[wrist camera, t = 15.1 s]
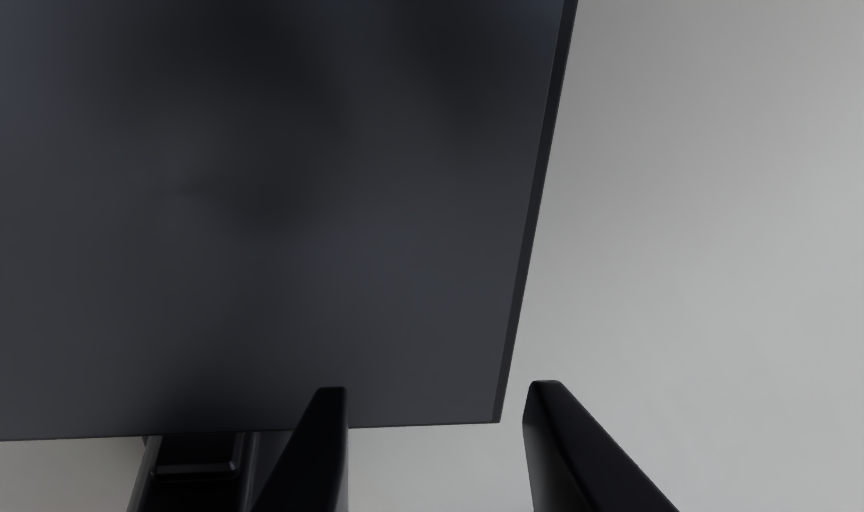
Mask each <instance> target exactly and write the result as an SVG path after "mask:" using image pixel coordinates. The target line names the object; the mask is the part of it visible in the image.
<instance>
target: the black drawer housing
mask: <svg viewBox="0 0 864 512" xmlns="http://www.w3.org/2000/svg"><path fill="white" fill-rule="evenodd" d="M577 5H578V0H0V442H4V441H30V440H57V439H84V438H111V437H138V436H164V435H191V434H218V433H245V432H272V431H294V430H295V428H296V426H297V424H298V422H299V421H300V419H301V417H302V415H303V413H304V411H305V410H306V408H307V406H308V404H309V402H310V400H311V399H312V397H313V395H314V393H315V392H316V390H317V389H318V388H320V387H329V386H343V387H345V388H346V389H347V397H348V429H352V428H379V427H406V426H432V425H459V424H486V423H499V422H500V420H501V414H502V409H503V403H504V398H505V393H506V387H507V382H508V377H509V371H510V366H511V360H512V355H513V350H514V344H515V339H516V333H517V328H518V323H519V317H520V312H521V306H522V301H523V296H524V290H525V285H526V280H527V274H528V269H529V263H530V258H531V253H532V247H533V242H534V236H535V231H536V226H537V220H538V215H539V210H540V204H541V199H542V193H543V188H544V183H545V177H546V172H547V166H548V161H549V156H550V150H551V145H552V139H553V134H554V129H555V123H556V118H557V113H558V107H559V102H560V96H561V91H562V86H563V80H564V75H565V69H566V64H567V59H568V53H569V48H570V43H571V37H572V32H573V26H574V21H575V16H576V10H577Z"/></svg>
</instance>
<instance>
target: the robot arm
mask: <svg viewBox="0 0 864 512" xmlns="http://www.w3.org/2000/svg"><path fill="white" fill-rule="evenodd" d="M522 429H523V438H524V445H525V451H526V458H527V465H528V472H529V479H530V486H531V493H532V500H533V507H534V512H679V511H678V509H677V508H676V507H675V506H674V505H673V504H672V503H671V502H670V501H669V500H668V499H667V497H666V496H665V495H664V494H663V493H662V492H661V491H660V490H659V489H658V488H657V487H656V485H655V484H654V483H653V482H652V481H651V480H650V479H649V478H648V477H647V476H646V474H645V473H644V472H643V471H642V470H641V469H640V468H639V467H638V466H637V465H636V464H635V462H634V461H633V460H632V459H631V458H630V457H629V456H628V455H627V454H626V453H625V452H624V450H623V449H622V448H621V447H620V446H619V445H618V444H617V443H616V442H615V441H614V439H613V438H612V437H611V436H610V435H609V434H608V433H607V432H606V431H605V430H604V429H603V427H602V426H601V425H600V424H599V423H598V422H597V421H596V420H595V419H594V418H593V417H592V415H591V414H590V413H589V412H588V411H587V410H586V409H585V408H584V407H583V406H582V404H581V403H580V402H579V401H578V400H577V399H576V398H575V397H574V396H573V395H572V394H571V392H570V391H569V390H568V389H567V388H566V387H565V386H564V385H563V384H562V383H561V382H559V381H557V380H537V381H533V382H532V383H531V384H530V386H529V390H528V395H527V400H526V404H525V409H524V413H523V420H522ZM142 438H143V441H144V445H145V451H144V454H143V458H142V461H141V464H140V468H139V471H138V474H137V478H136V481H135V485H134V488H133V491H132V495H131V498H130V501H129V505H128V508H127V512H348V397H347V389H346V388H345V387H343V386H329V387H320V388H318V389H317V390H316V392H315V393H314V395H313V397H312V399H311V400H310V402H309V404H308V406H307V408H306V410H305V411H304V413H303V415H302V417H301V419H300V421H299V422H298V424H297V426H296V428H295V430H294V431H272V432H245V433H218V434H191V435H164V436H142Z"/></svg>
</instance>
